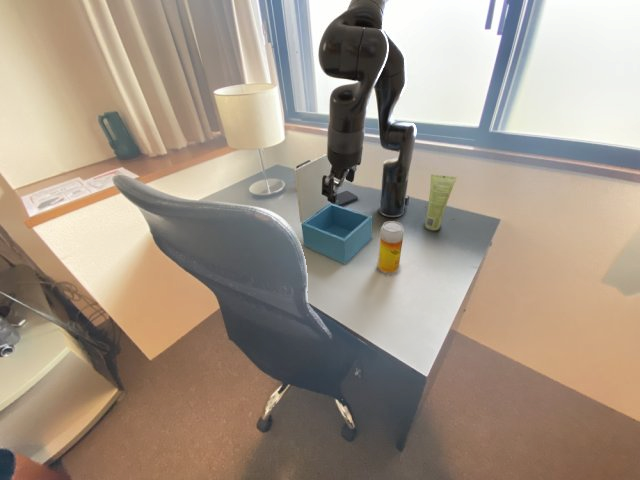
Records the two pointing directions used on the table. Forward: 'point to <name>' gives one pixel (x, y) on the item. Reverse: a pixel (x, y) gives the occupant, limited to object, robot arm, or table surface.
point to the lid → (311, 186)
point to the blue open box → (337, 232)
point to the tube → (438, 199)
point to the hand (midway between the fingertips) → (340, 190)
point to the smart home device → (345, 198)
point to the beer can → (390, 246)
